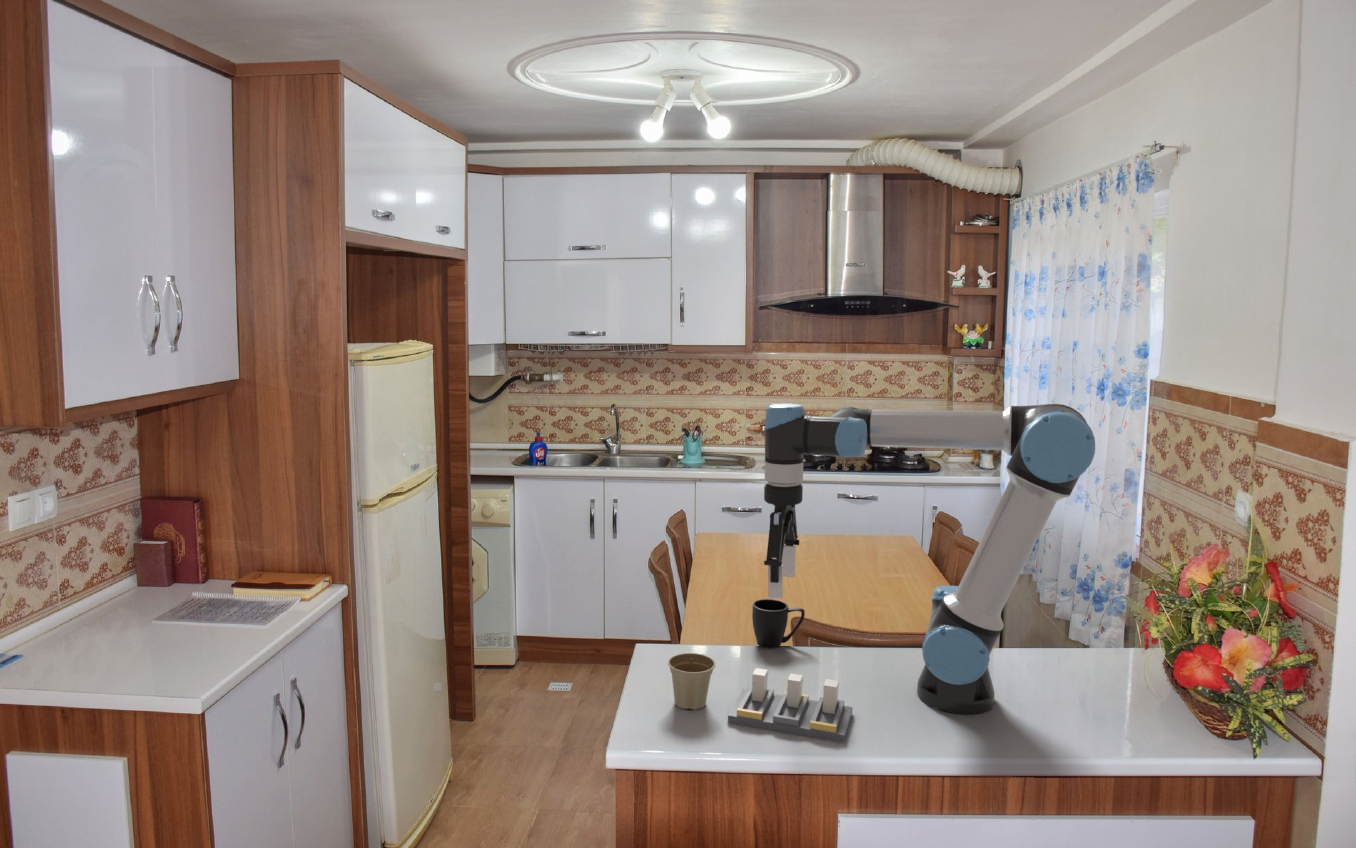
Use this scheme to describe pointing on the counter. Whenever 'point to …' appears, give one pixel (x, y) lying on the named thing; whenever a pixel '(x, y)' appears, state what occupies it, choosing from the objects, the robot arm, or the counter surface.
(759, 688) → the tab
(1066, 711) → the counter surface
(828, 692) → the tab
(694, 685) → the flower pot
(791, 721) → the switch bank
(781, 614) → the mug
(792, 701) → the tab
